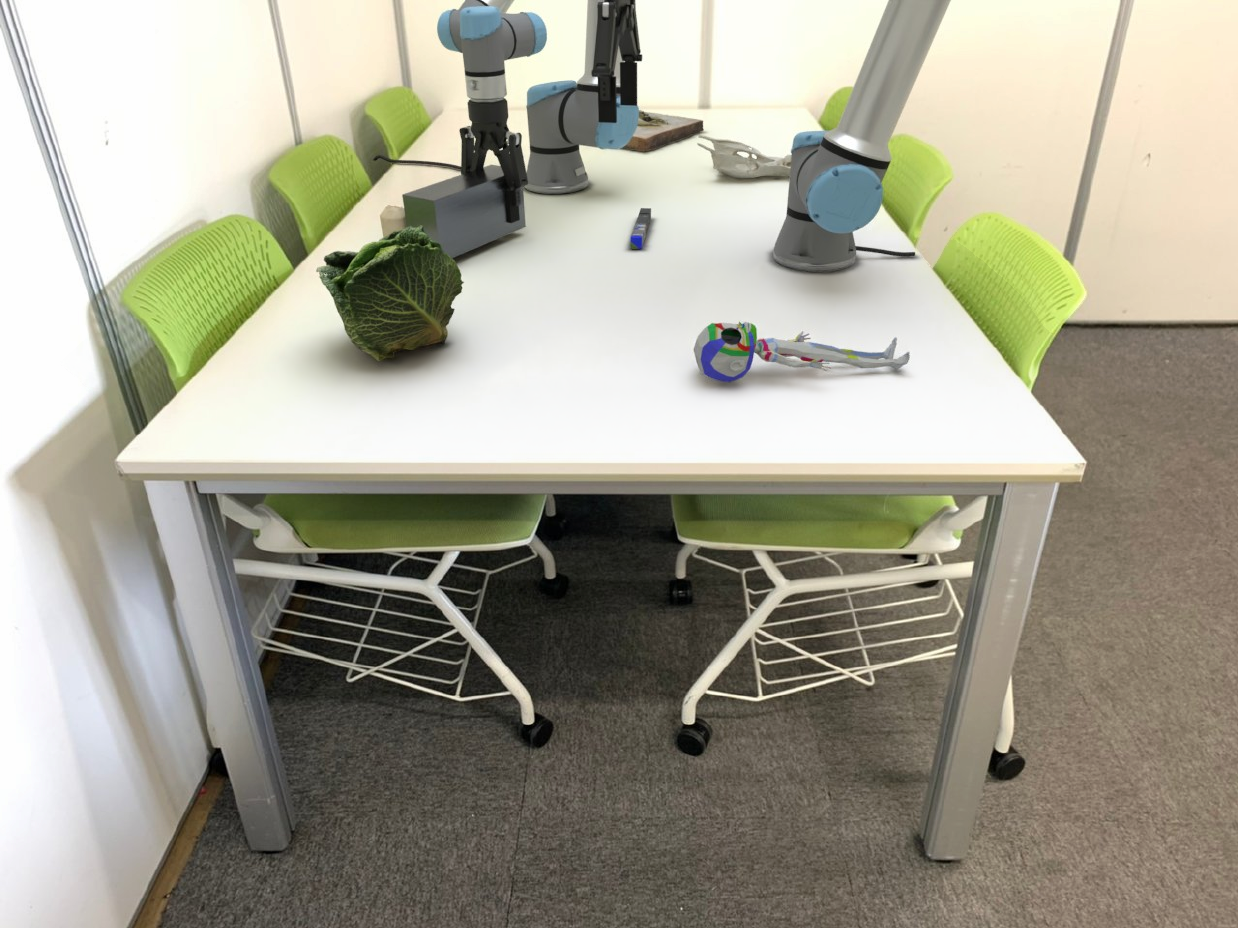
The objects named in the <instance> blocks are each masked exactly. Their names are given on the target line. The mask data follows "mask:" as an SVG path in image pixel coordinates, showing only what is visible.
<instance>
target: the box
mask: <svg viewBox="0 0 1238 928" xmlns="http://www.w3.org/2000/svg"><path fill="white" fill-rule="evenodd" d="M513 183H514V181H513ZM508 188H509V187H508V184H507V182H506V179H505V175H504V174H503V171H502V169H501V166H500V165H497V164H489V165H486V166H484V167H483V168H481V169H478V170H474V171H471V172H468V173H465V174H462V175H461V174H458V175H456V176H453V177H450V178H447V179H444V180H441V181H438V182H436V183H432V184H430V185H429V184H428V185H426V186H423V187H421V188H418V189H414V190H412V191H409V192H405V193H403V194H401V195H402V202H403V208H404V211H405V218H406V225H407V227H410V226H412V228H418V227H419V226H420V225H422V226H423V230H424V232H425V233H426V235H428V237H430V238H431V239H432V240H433V241H435V242H437V243H439V244H440V245H441V248H442V250H443V251H444V252H445V253H446V254H448V255H449V256H450V257H451V258H452V259H454V258H457V257H459V256H462V255H464V254H467V253H468V252H471V251H472V250H475V249H478V248H479V247H482V246H484V245H486V244H489V243H492V242H494V241H495V240H496V241H497V240H498V239H500V238H504V237H505V236H508V235H510V234H512V233H515V232H517V231H519V230H521V229H524V228H526V225H527V224H526V209H525V198H524V197H525V195H524V186H523V187H521V188H520V196H521V204H520V205H519V216H520V220H518V221H516V222H513V223H509V222H508V210H507V198H506V190H507V189H508Z"/></svg>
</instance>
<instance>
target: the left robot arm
mask: <svg viewBox="0 0 1238 928" xmlns="http://www.w3.org/2000/svg"><path fill="white" fill-rule="evenodd" d="M514 1H515V0H464V1H463V3H462V4H461V5H460V7H459V8H458V9H456V8H452V9H447V10H445V11H442V13H441V14H440V16H439V17H438V21H437V25H436V26H437V27H436V32H437V37H438V40H439V42H440V43H441V45H442V47H444V48H445V49H446V50H448V51H450V52H451V51H452V52H455V53H461V54H462V59H463V68H464V80H465V89H466V97H467V98H469V99H468V100H467V113H468V119H469V121H470V122H471V125H467V126H464V127H460V128H459V129H458V130H459V135H460V140H461V151H460V153H461V155H460V156H461V159H460V165H457V164H456V165H455V164H452V163H446V162H438V161H431V160H430V161H429V160H412V159H408V160H407V159H392V158H390V157H387V156H386V155H385V156H384V155H382V154H377V155H376V156H374V157H373V159H372V161H374V162H376V161H377V160H379V159H381V160H384V161H386V162H388V163H393V164H407V165H409V164H413V165H429V166H437V167H438V166H439V167H444V168H451V169H456V170H460V175H462V174H465V173H468V172H471V171H474V170H478V169H481V168H483V167H485V163H486V158H487V155H488V152H489V151H492V153H493V155H494V156H495V157H496V158H497V161H498V164H499V166H501V169H502V171H503V174H504V175H505V179H506V182H507V184H508V187H509V188H508V189H507V190H506V198H507V210H508V222H509V223H513V222H516V221H518V220H520V216H519V205H520V204H521V196H520V188H521V187H523V188H525V189H526V190H527V191H530V192H531V193H535V194H536V193H537V194H543V195H544V194H545V195H562V194H570V193H576V192H579V191H583V190H584V189H586V188H587V187H589V175H588V173H587V171H586V168H585V164H584V161H583V158H582V156H581V153H580V146H585V147H592V148H598V149H600V150H620V149H623V148H622V147H624V146H625V145H626V144H627V143H628V142H629V141H630V139H631V138H632V137H633V135H634V133H635V130H636V128H637V124H638V119H639V110H640V107H639V105H638V104H637V106H628V105H620V62H625V61H622V58H621V53H620V49H619V46H618V53H617V59H616V65H615V71H614V76H616V94H617V122H616V123H601V122H599V115H598V77H592V74H591V71H592V70H593V64H594V53H595V42H596V31H597V19H598V8H597V5H598V2H604V0H587V4H586V5H587V7H586V26H585V27H586V30H585V31H586V32H585V50H584V51H585V54H584V72H583V75H582V76H581V77H580V78H578V80H577V81H576V80H572V79H571V80H559V81H550V82H545V83H539V84H535V85H532V86H531V87H529V88H528V90H527V91H526V105H525V106H526V107H525V108H526V115H527V127H528V140H529V141H528V142H529V157H528V162H527V168H526V164H525V157H524V153H523V148H522V147H523V146H522V139H523V135H522V133H521V132H513V131H510V129H509V127H508V119H509V109H508V108H509V105H508V100H507V98H505V97H506V96H507V95H508V90H507V79H506V66H505V65H506V64H505V61H508V60H513V59H514V60H515V59H519V58H525V57H527V58H529V57H531V56H534V55H537V54H539V53H540V52H541V51H543V50H544V48H545V47H546V44H547V40H548V31H547V26H546V23H545V22H544V20H543V19H542V17H541V16H539V14H537V13H536V12H532V11H529V12H526V11H525V12H524V11H521V12H518V13H508V11H509V9H510V8H511V6H512V5H513V3H514ZM513 181H514V183H513Z"/></svg>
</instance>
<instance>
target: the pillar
mask: <svg viewBox="0 0 1238 928" xmlns="http://www.w3.org/2000/svg"><path fill="white" fill-rule="evenodd" d="M651 219H652V208H650V207H649V208H648V207H640V209H639V212H638V215H637V217H636V221H635V224H634V227H633V230H632V232H631V235H630V250H637V249H638V250H642V249H643V246H644V244H645V243H644V242H645V240H646V236H647V233H648V229H649V226H650V222H651Z"/></svg>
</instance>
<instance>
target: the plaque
mask: <svg viewBox="0 0 1238 928" xmlns="http://www.w3.org/2000/svg"><path fill="white" fill-rule="evenodd" d="M704 130H705V129H704V120H702V119H698V118H693V117H685V116H679V115H669V114H663V113H659V112H650V111H644V110H642V109H639V119H638V124H637V128H636V130H635V133H634V135H633V137H632V138H631V139H630V141H629V142H628V143H627V144H626V145H625V146H624V147H622V148H621V149H625V150H632V151H640V152H648V151H654V150H656V149H659V148H662V147H663V146H664V147H665V146H667V145H670V144H672V143H676V142H680V141H682V140H684V139H687V138H691V137H692V136H694V135H696V134H698V133H700V132H704Z"/></svg>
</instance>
